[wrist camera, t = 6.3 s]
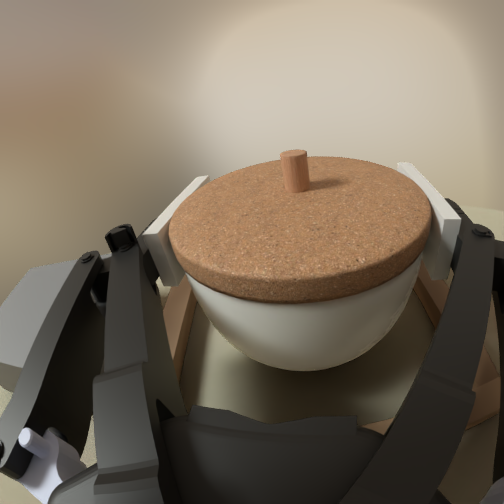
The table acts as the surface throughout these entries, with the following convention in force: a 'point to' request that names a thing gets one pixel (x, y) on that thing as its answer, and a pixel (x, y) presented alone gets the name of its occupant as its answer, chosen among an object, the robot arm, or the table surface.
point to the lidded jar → (303, 256)
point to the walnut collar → (485, 406)
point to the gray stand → (28, 316)
